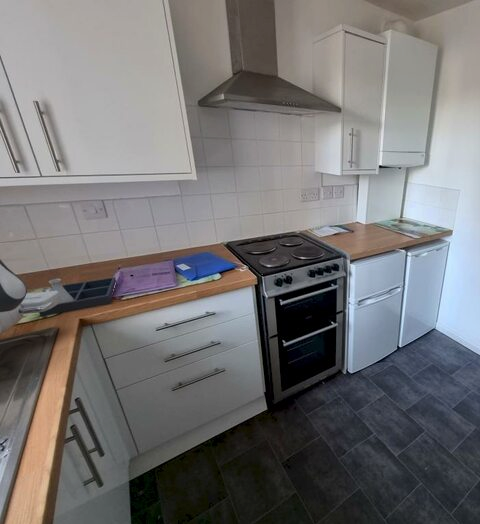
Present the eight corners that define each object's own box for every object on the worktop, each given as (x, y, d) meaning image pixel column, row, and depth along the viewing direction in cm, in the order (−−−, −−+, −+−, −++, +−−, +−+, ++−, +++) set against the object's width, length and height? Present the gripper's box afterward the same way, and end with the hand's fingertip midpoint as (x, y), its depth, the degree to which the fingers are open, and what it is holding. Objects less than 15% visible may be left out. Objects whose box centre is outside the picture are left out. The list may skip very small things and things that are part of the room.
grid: (40, 317, 103) (37, 308, 102) (57, 294, 119) (54, 286, 118) (110, 304, 113) (108, 295, 111) (117, 284, 128) (115, 277, 127)
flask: (70, 299, 114) (62, 275, 110) (80, 303, 111) (72, 278, 107) (46, 307, 108) (36, 282, 104) (56, 312, 105) (46, 286, 101)
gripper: (42, 299, 85) (68, 279, 97) (-56, 308, 78) (-15, 286, 91) (49, 318, 87) (74, 297, 99) (-45, 329, 81) (-7, 304, 93)
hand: (30, 292), depth 95 cm, fingers open, 8 cm apart
